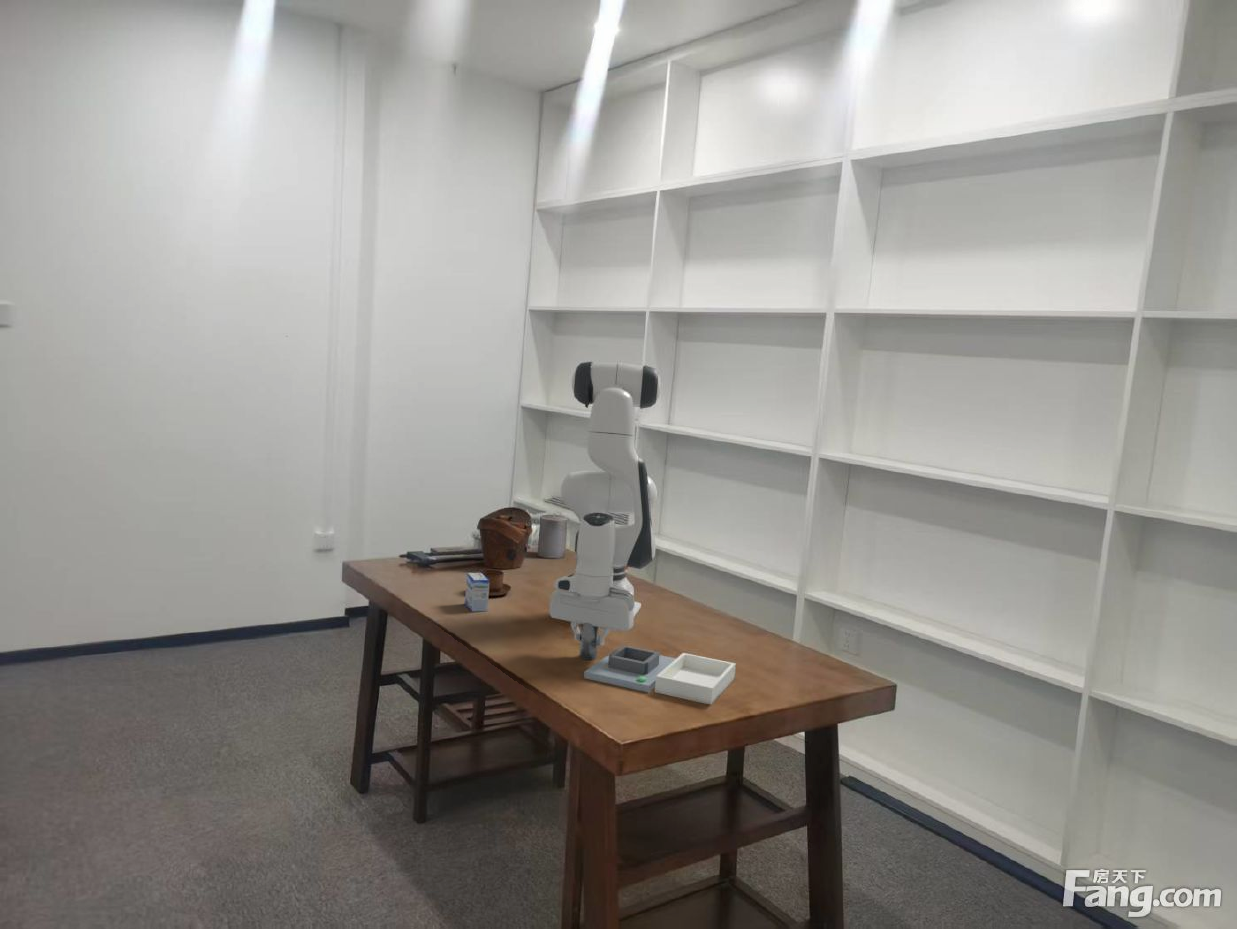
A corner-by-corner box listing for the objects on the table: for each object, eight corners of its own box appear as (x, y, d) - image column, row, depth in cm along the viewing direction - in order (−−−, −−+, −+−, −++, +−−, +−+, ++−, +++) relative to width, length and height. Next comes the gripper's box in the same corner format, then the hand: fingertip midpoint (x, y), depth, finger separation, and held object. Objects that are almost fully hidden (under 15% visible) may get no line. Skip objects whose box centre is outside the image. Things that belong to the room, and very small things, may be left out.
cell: (583, 653, 208) (586, 614, 207) (599, 656, 206) (602, 617, 205) (576, 657, 204) (579, 618, 203) (592, 661, 202) (595, 621, 201)
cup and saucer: (464, 588, 257) (465, 567, 256) (504, 587, 262) (505, 567, 261) (473, 599, 246) (474, 578, 245) (515, 598, 251) (516, 577, 250)
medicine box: (464, 603, 241) (466, 572, 240) (480, 603, 243) (482, 572, 242) (471, 612, 234) (473, 580, 233) (487, 611, 236) (489, 579, 235)
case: (482, 573, 276) (485, 516, 274) (469, 558, 295) (472, 505, 293) (537, 572, 283) (541, 516, 281) (521, 557, 301) (524, 505, 299)
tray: (681, 667, 203) (683, 652, 202) (734, 678, 198) (735, 663, 198) (654, 692, 186) (656, 676, 186) (711, 704, 181) (712, 688, 181)
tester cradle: (619, 653, 210) (620, 636, 209) (679, 665, 204) (680, 648, 203) (583, 678, 191) (585, 660, 191) (648, 692, 186) (650, 674, 185)
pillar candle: (549, 551, 314) (552, 510, 313) (570, 556, 309) (573, 514, 307) (531, 555, 306) (534, 512, 305) (553, 560, 301) (556, 517, 299)
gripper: (640, 589, 202) (635, 647, 204) (560, 574, 210) (556, 631, 211) (630, 595, 196) (625, 655, 198) (548, 580, 204) (544, 638, 205)
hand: (589, 642), depth 205 cm, fingers closed on cell, 4 cm apart
